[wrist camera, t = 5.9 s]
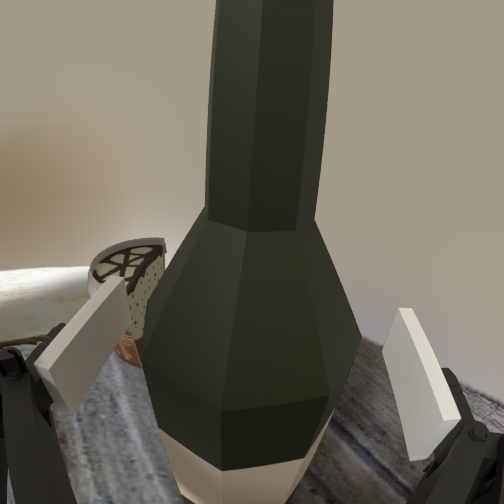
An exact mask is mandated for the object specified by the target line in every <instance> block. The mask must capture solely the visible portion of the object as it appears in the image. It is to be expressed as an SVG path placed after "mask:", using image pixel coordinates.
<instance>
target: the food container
mask: <svg viewBox="0 0 504 504" xmlns="http://www.w3.org/2000/svg"><path fill="white" fill-rule="evenodd" d="M165 253H167V252H166V245H165V242H164V238H140V239H134V240H129V241H125V242H121V243H118V244H115V245H113V246H111V247H108V248H107V249H105V250H103V251H102V252H101V253H99V254H98V255H97V256H96V257H95V258H94V259H93V261H92V262H91V265H90V269H89V272H88V292H89V295H90V297H91V296H92V295H93V294H94V293H95V292H96V291H97V290H98V289H99V288H100V287H101V286H102V284H103V283H104V282H105V281H106V280H107V279H108V278H109V277H110V276H111V275H113V276H119V277H124V278H125V285H126V292H127V298H128V304H129V310H130V315H131V321H132V323H131V324H130V326H129V327H128V329H127V330H126V332H125V333H124V335H123V336H122V338H121V339H120V341H119V342H118V344H117V345H116V347H115V348H114V349H115V351H116V353H117V355H118V356H119V357H120V358H121V359H122V360H123V361H125V362H126V363H128V364H130V365H133V366H135V367H139V368H142V361H141V351H142V340H143V331H144V322H145V313H146V305H147V301H148V299H149V298H150V296H151V294H152V292H153V291H154V289H155V287H156V285H157V284H158V282H159V280H160V279H161V277H162V275H163V273H164V272H165Z"/></svg>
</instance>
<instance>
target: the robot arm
mask: <svg viewBox="0 0 504 504" xmlns="http://www.w3.org/2000/svg"><path fill="white" fill-rule="evenodd" d="M131 323H132V321H131V315H130V310H129V304H128V298H127V292H126V285H125V278H124V277H119V276H113V275H111V276H110V277H109V278H108V279H107V280H106V281H105V282H104V283H103V284H102V286H101V287H100V288H99V289H98V290H97V291H96V292H95V293H94V294H93V295H92V296H91V297H90V299H89V300H88V301H87V302H86V303H85V304H84V305H83V306H82V307H81V308H80V310H79V311H78V312H77V313H76V314H75V315H74V316H73V318H72V319H71V320H70V321H69V322H68V323H67V324H65V323H61V324H59V325H58V326H56V327H54V328H53V329H52V330H51V331H50V332H49V333H48V334H47V336H46V337H45V338H44V339H43V340H42V341H41V343H40V344H39V345H38V346H37V347H36V348H35V350H34V351H33V352H32V353H31V354H30V356H29V357H28V358H27V359H26V360H25V361H24V358H23V356H22V354H21V352H20V351H19V350H18V349H16V348H13V347H11V348H6V349H3V350H1V351H0V504H7V476H8V468H9V474H10V480H11V485H12V490H13V495H14V499H15V503H16V504H77V502H76V499H75V496H74V493H73V490H72V487H71V484H70V481H69V478H68V475H67V471H66V468H65V465H64V461H63V457H62V454H61V450H60V446H59V442H58V438H57V434H56V429H55V425H54V420H53V415H52V411H51V409H50V406H51V404H52V403H53V402H54V404H55V406H56V407H57V409H58V411H61V412H63V413H65V414H68V415H70V416H73V415H74V413H75V411H76V410H77V408H78V406H79V405H80V403H81V401H82V400H83V398H84V396H85V395H86V393H87V391H88V390H89V388H90V387H91V385H92V383H93V382H94V380H95V378H96V377H97V375H98V374H99V372H100V370H101V369H102V367H103V366H104V364H105V363H106V361H107V359H108V358H109V356H110V355H111V353H112V352H113V350H114V348H115V347H116V345H117V344H118V342H119V341H120V339H121V338H122V336H123V335H124V333H125V332H126V330H127V329H128V327H129V326H130V324H131ZM382 353H383V357H384V360H385V364H386V367H387V370H388V374H389V378H390V381H391V385H392V389H393V392H394V396H395V400H396V404H397V408H398V412H399V416H400V420H401V424H402V428H403V433H404V437H405V441H406V446H407V451H408V455H409V460H410V461H415V460H422V459H427V458H428V456H429V455H430V454H431V453H432V452H434V455H435V459H434V460H433V461H432V462H431V463H430V464H429V465H428V466H427V467H426V468H425V469H424V470H423V472H426V473H425V475H424V476H423V478H422V480H421V481H420V483H419V485H418V486H417V488H416V489H415V491H414V493H413V494H412V496H411V497H410V499H409V500H408V502H407V503H406V504H504V434H501V433H494V432H489V430H488V428H487V427H486V426H485V425H484V424H483V423H481V422H479V421H475V420H474V418H473V415H472V413H471V410H470V408H469V405H468V403H467V400H466V398H465V396H464V394H463V391H462V389H461V387H460V384H459V382H458V380H457V378H456V376H455V375H454V374H453V372H452V371H451V370H450V369H449V368H440V366H439V363H438V361H437V359H436V357H435V354H434V352H433V350H432V348H431V346H430V344H429V342H428V339H427V338H426V335H425V333H424V331H423V329H422V327H421V325H420V323H419V321H418V319H417V317H416V315H415V313H414V311H413V309H412V308H398V310H397V313H396V316H395V318H394V321H393V324H392V327H391V329H390V332H389V334H388V337H387V340H386V342H385V345H384V347H383V350H382Z"/></svg>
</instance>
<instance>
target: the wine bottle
mask: <svg viewBox="0 0 504 504" xmlns="http://www.w3.org/2000/svg"><path fill="white" fill-rule="evenodd" d="M332 26H333V0H216V10H215V20H214V31H213V44H212V56H211V72H210V86H209V104H208V125H207V147H206V148H207V149H206V179H205V207H204V208H203V210H202V212H201V213H200V215H199V216H198V218H197V220H196V221H195V223H194V224H193V226H192V228H191V229H190V231H189V232H188V234H187V235H186V237H185V239H184V240H183V242H182V244H181V245H180V247H179V249H178V250H177V252H176V253H175V255H174V257H173V258H172V260H171V262H170V263H169V265H168V267H167V269H166V270H165V272H164V273H163V275H162V277H161V279H160V280H159V282H158V284H157V285H156V287H155V289H154V291H153V292H152V294H151V296H150V298H149V299H148V301H147V305H146V313H145V322H144V331H143V340H142V351H141V361H142V366H143V370H144V374H145V379H146V383H147V387H148V391H149V395H150V398H151V402H152V406H153V410H154V413H155V417H156V420H157V424H158V427H159V430H160V434H161V437H162V440H163V443H164V447H165V450H166V453H167V456H168V459H169V462H170V465H171V468H172V470H173V473H174V476H175V479H176V482H177V484H178V487H179V490H180V492H181V495H182V497H183V500H184V503H185V504H287V503H288V502H289V500H290V499H291V498H292V496H293V494H294V492H295V490H296V489H297V487H298V485H299V483H300V481H301V479H302V477H303V475H304V474H305V472H306V470H307V468H308V466H309V464H310V462H311V460H312V458H313V456H314V454H315V452H316V449H317V447H318V445H319V443H320V441H321V439H322V437H323V435H324V432H325V430H326V428H327V426H328V423H329V421H330V419H331V417H332V414H333V412H334V410H335V407H336V405H337V403H338V400H339V398H340V395H341V393H342V390H343V388H344V385H345V383H346V380H347V378H348V375H349V372H350V370H351V367H352V364H353V362H354V359H355V356H356V353H357V350H358V348H359V345H360V342H361V339H362V336H361V333H360V331H359V328H358V325H357V323H356V320H355V317H354V315H353V312H352V310H351V307H350V304H349V302H348V300H347V297H346V294H345V292H344V289H343V287H342V284H341V282H340V279H339V277H338V274H337V272H336V269H335V267H334V264H333V262H332V260H331V257H330V255H329V252H328V250H327V248H326V245H325V243H324V241H323V238H322V236H321V234H320V231H319V229H318V227H317V224H316V222H315V220H314V218H315V210H316V203H317V195H318V187H319V178H320V171H321V162H322V153H323V143H324V134H325V123H326V112H327V102H328V90H329V77H330V61H331V46H332Z"/></svg>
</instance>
